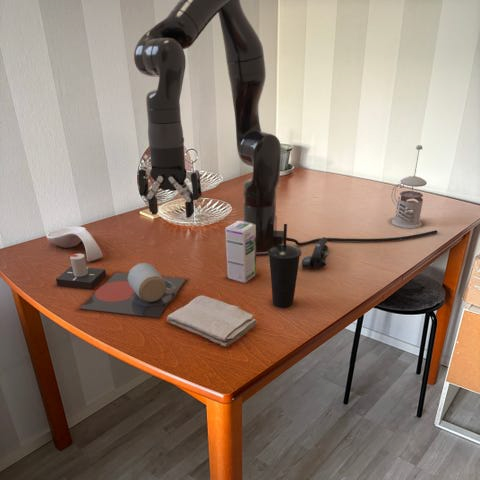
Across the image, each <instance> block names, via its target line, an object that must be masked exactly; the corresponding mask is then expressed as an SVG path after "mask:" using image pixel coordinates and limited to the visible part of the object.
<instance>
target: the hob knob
mask: <svg viewBox="0 0 480 480" xmlns="http://www.w3.org/2000/svg"><path fill="white" fill-rule="evenodd" d="M69 259H70V263H71V266H72V268H73V273H74V276H76V277H82V276H85V275H87V274H88V271H87V267H88V266H87V259H86V254H84V253H74V254H73V253H72V254H70V256H69Z"/></svg>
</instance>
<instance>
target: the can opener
mask: <svg viewBox="0 0 480 480" xmlns="http://www.w3.org/2000/svg"><path fill="white" fill-rule="evenodd" d="M327 238H328V237H324V236H323V237H321V239H320V240H319V241H318V242H316V244H315V246H314V249H313V252H312V255H308V256H304V257H303V258H302V261H301V267H302V268H304V269H312V268H313V267H314V268H315V269H322V268H325V267H326V266H327V263H326V262H327V261H326V259H327V258H328V257H329V247H328V246H327V243H328V241H327V240H328V239H327Z"/></svg>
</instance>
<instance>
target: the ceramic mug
mask: <svg viewBox="0 0 480 480" xmlns="http://www.w3.org/2000/svg"><path fill="white" fill-rule="evenodd" d="M127 274H128V283H129V285H130V287H131V288H132V289H133V290H134V291H135V293H136V294H137V295H138V296H139V297H140V298H141V299H142V300H144V301H146V302H155V301H157V300H159V299H160V298H161V297H162V296H163V295H164V294H173V293H174V291H175V289H176V287H175V285H174V284H172V283H171V282H169V281H167V280H164V279H163V278H162V277H163V276H162V275H161V274H160V272H158V270H157V269H156V268H155V266H153V265H152V264H150V263H148V262H141V263H137V264H135V265H134V266H133V267H132V268H130V270H129V271H128V273H127ZM166 287H168V288H166Z"/></svg>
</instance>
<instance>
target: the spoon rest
mask: <svg viewBox="0 0 480 480" xmlns="http://www.w3.org/2000/svg"><path fill="white" fill-rule="evenodd" d="M45 237H46V239H47V240H48V241H49V242H50V243H52V244H53V245H56V246H58V247H60V248H65V249H67V248H72V247H77V246H78V245H79V244H80V243H81V242H82V244H83V246H84V248H85V256H86V262H89V263H90V262H93V261H96V260H99V259H102V258H103V253H102V250H101V248H100V246H99V245H98V243H97V242H96V239H95V238H94V237H93V236H92V234H91V233H90V232H89V231H88V230H87V228H86V227H84V226H78V225H74V226H73V225H72V226H70V225H69V226H63V227H61V228H57V229H53V230H51V231H49V232H47V234H46V235H45Z"/></svg>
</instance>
